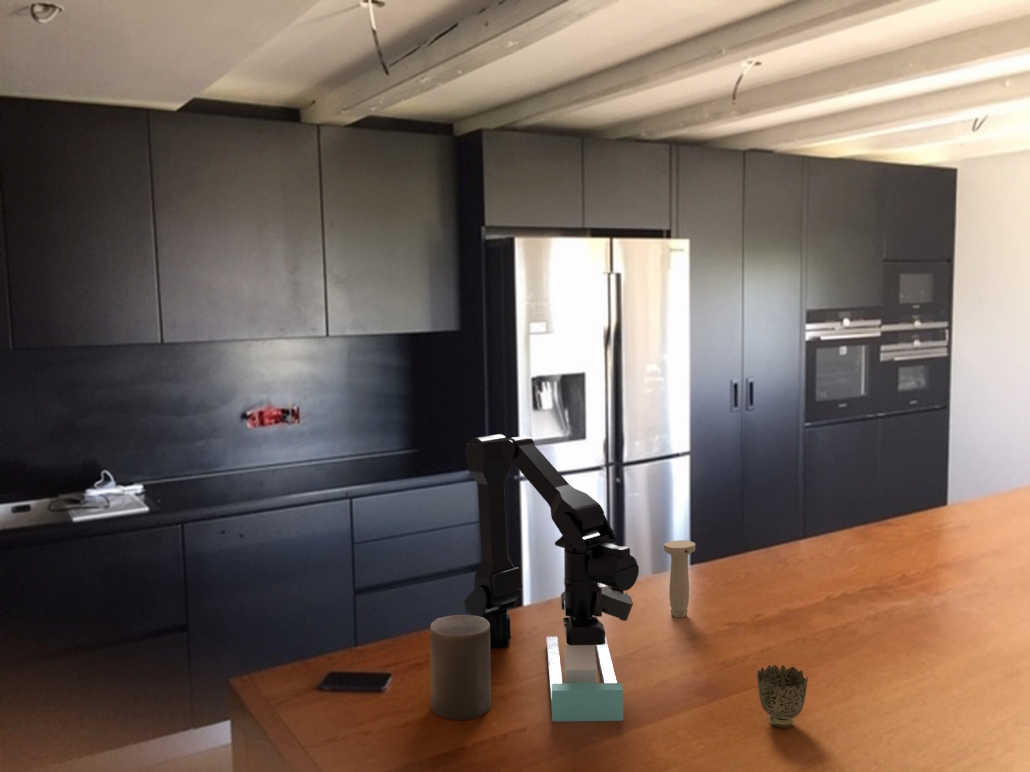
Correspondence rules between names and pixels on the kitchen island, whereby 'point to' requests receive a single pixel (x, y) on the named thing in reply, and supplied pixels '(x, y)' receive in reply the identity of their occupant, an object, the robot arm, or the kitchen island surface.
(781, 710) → the cup
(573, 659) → the block
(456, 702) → the pillar candle
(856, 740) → the kitchen island surface
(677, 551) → the handle
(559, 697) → the track
